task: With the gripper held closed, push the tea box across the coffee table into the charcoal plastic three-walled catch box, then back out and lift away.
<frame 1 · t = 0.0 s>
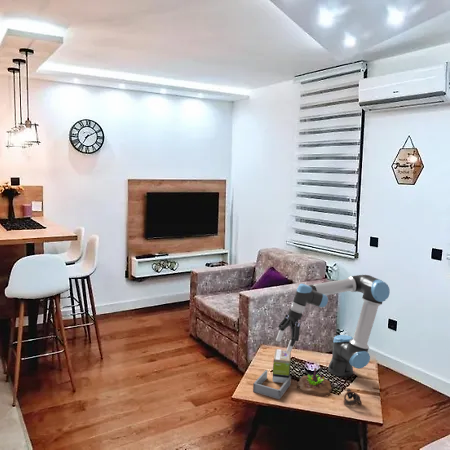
hand: (283, 346, 258), 28 cm above the table, tool tilted 20°, fingers open, 13 cm apart
tea box: (281, 377, 280), on the table
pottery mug: (351, 403, 254), on the table
catch box: (272, 388, 266), on the table
plant: (314, 387, 270), on the table
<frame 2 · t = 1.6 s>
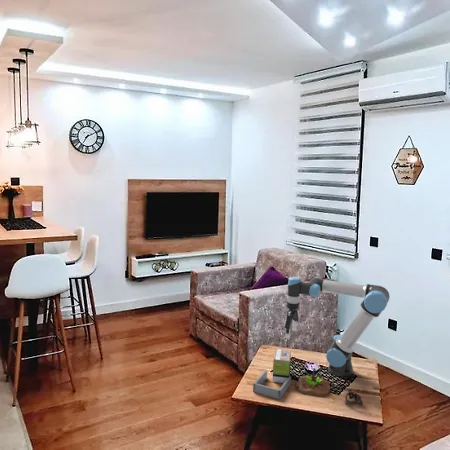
hand: (290, 334, 288), 23 cm above the table, tool pointing down, fingers open, 13 cm apart
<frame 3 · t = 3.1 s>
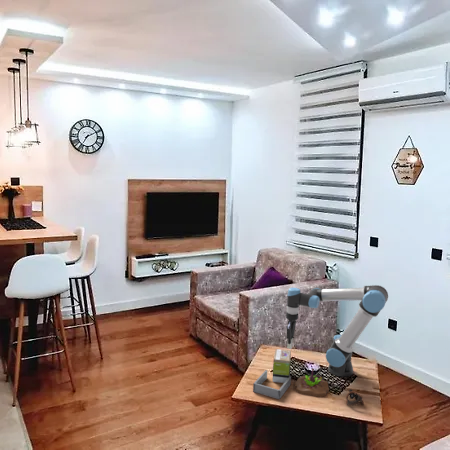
hand: (289, 347, 291), 13 cm above the table, tool pointing down, fingers closed
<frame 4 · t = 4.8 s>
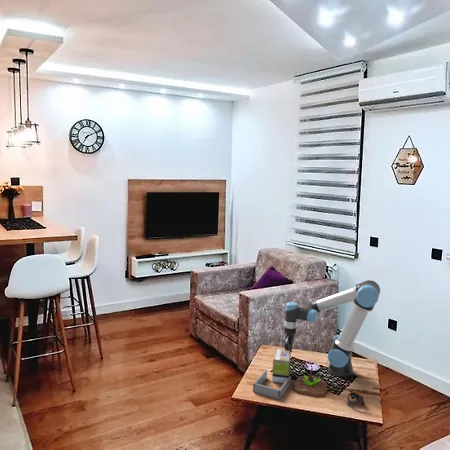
hand: (287, 362, 290), 5 cm above the table, tool pointing down, fingers closed
tea box: (280, 377, 280), on the table, touching hand
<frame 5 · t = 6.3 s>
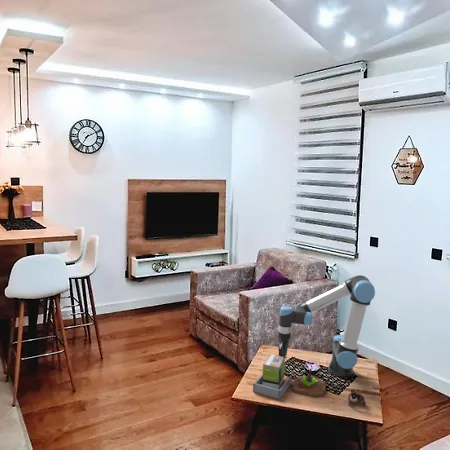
hand: (281, 368, 281), 5 cm above the table, tool pointing down, fingers closed
tea box: (273, 383, 272), on the table, touching hand
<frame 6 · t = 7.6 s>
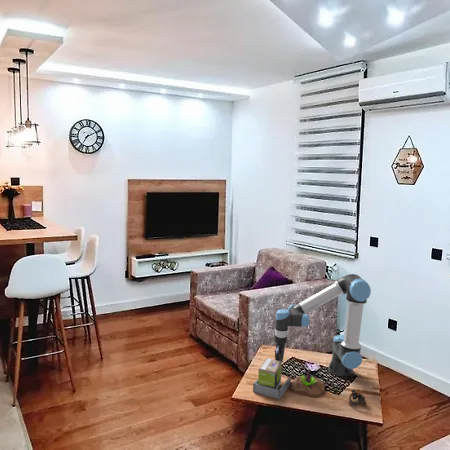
hand: (278, 372, 276), 5 cm above the table, tool pointing down, fingers closed
tea box: (269, 388, 267), on the table, touching catch box, hand
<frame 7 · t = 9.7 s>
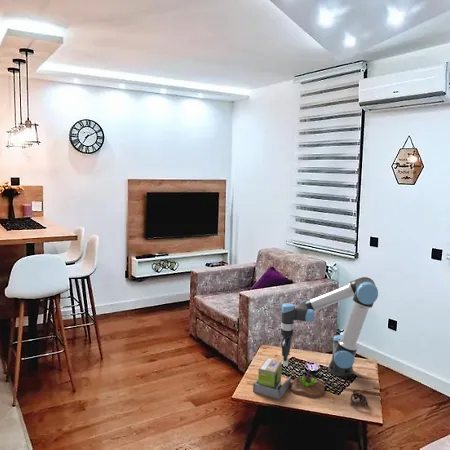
hand: (285, 365, 284), 6 cm above the table, tool pointing down, fingers closed
tea box: (269, 388, 267), on the table
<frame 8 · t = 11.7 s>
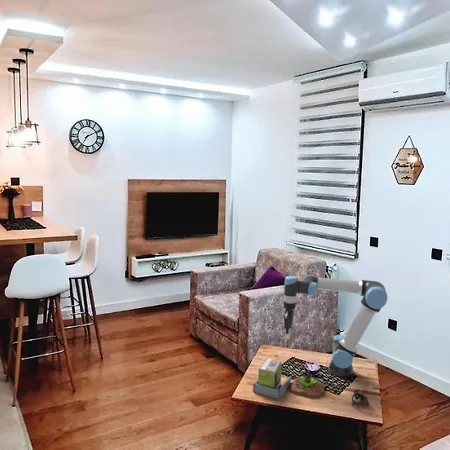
hand: (287, 338, 283), 22 cm above the table, tool pointing down, fingers closed
at the end: tea box inside the target area on the catch box (1.9 cm from its centre), point 0.0 cm above the catch box's base; tea box tilted 0°; the gripper is holding nothing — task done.
